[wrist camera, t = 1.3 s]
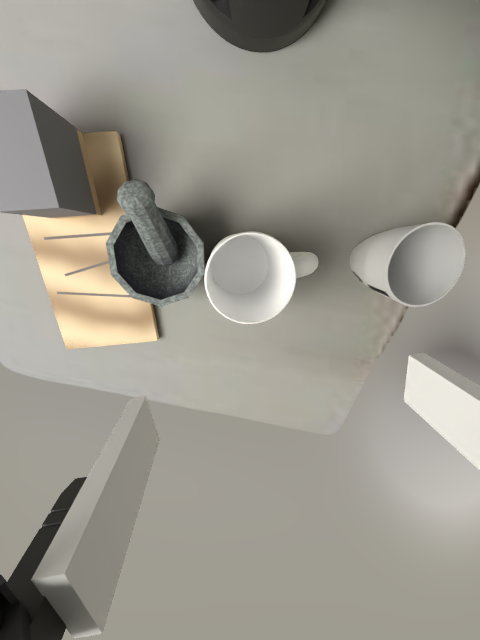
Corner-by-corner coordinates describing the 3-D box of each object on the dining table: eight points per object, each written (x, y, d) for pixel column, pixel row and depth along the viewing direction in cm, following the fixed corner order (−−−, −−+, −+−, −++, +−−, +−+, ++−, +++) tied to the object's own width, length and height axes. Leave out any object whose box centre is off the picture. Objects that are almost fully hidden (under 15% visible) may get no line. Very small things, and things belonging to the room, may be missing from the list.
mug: (301, 287, 34) (342, 312, 23) (215, 301, 34) (214, 334, 22) (296, 224, 31) (341, 216, 20) (203, 238, 31) (195, 239, 20)
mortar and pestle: (209, 292, 33) (202, 321, 22) (137, 293, 33) (91, 323, 21) (205, 199, 30) (194, 176, 18) (124, 198, 29) (61, 174, 18)
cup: (331, 283, 34) (374, 300, 25) (348, 221, 32) (404, 214, 22) (384, 292, 35) (445, 312, 26) (405, 232, 33) (480, 230, 23)
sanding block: (32, 135, 26) (-46, 92, 18) (82, 132, 26) (25, 89, 18) (56, 218, 28) (-4, 211, 21) (101, 215, 28) (59, 207, 21)
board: (4, 140, 26) (-3, 137, 25) (120, 134, 27) (116, 131, 26) (70, 346, 34) (66, 349, 33) (159, 337, 35) (157, 340, 34)
